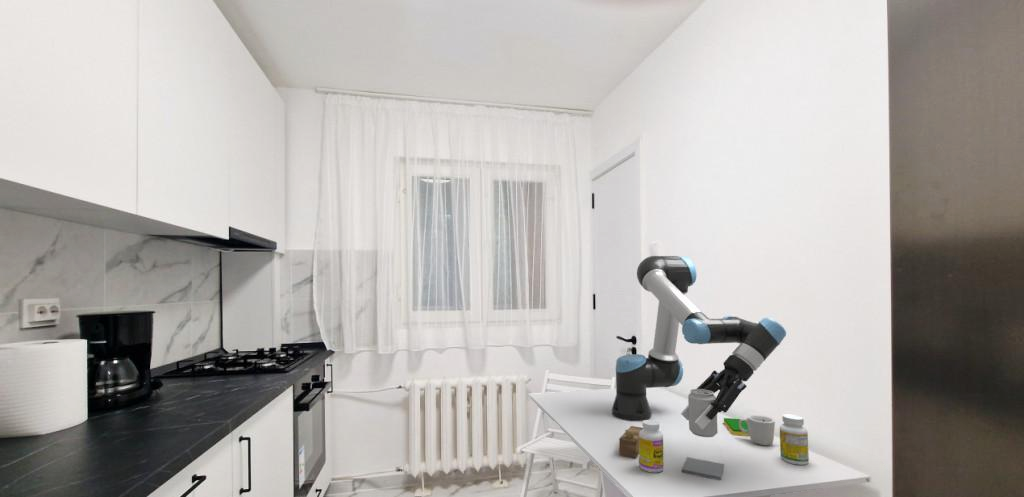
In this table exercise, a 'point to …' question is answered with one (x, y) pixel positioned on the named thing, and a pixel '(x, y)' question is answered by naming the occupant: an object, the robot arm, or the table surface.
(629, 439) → the walnut block
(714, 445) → the table surface
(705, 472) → the trivet
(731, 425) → the dish sponge
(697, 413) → the can
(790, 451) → the supplement bottle
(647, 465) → the supplement bottle
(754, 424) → the cup
